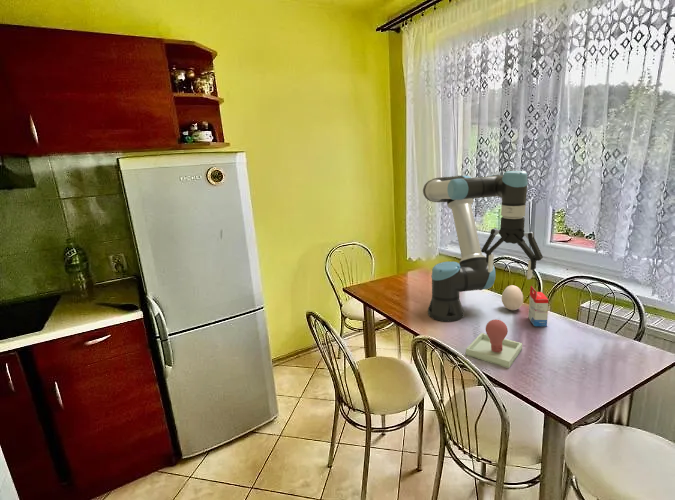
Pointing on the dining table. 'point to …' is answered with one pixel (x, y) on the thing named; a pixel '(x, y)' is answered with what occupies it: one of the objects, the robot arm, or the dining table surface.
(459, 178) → the robot arm
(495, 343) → the light bulb
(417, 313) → the dining table surface
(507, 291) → the egg
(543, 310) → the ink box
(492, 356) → the tray
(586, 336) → the dining table surface
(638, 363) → the dining table surface
